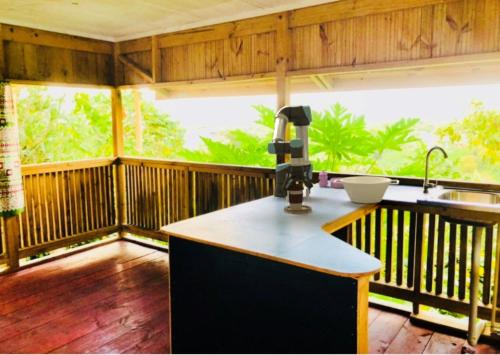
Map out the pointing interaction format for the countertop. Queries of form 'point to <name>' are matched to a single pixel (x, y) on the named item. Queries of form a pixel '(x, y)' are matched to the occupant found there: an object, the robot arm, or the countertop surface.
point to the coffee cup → (296, 196)
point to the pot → (366, 188)
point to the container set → (324, 182)
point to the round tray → (304, 210)
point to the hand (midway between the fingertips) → (297, 200)
